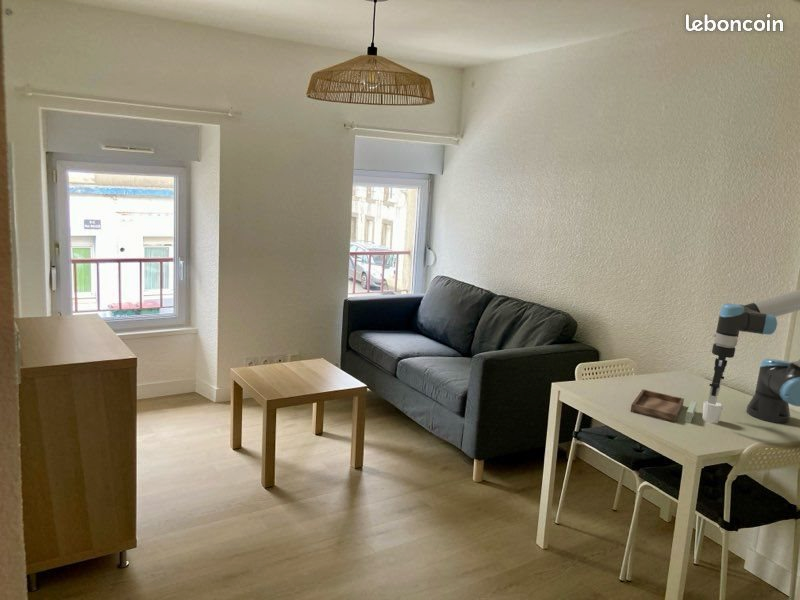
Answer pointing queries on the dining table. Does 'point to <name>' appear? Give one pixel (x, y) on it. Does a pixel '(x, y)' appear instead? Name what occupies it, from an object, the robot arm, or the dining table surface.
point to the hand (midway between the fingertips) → (713, 399)
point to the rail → (690, 411)
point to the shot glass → (712, 412)
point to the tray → (657, 405)
